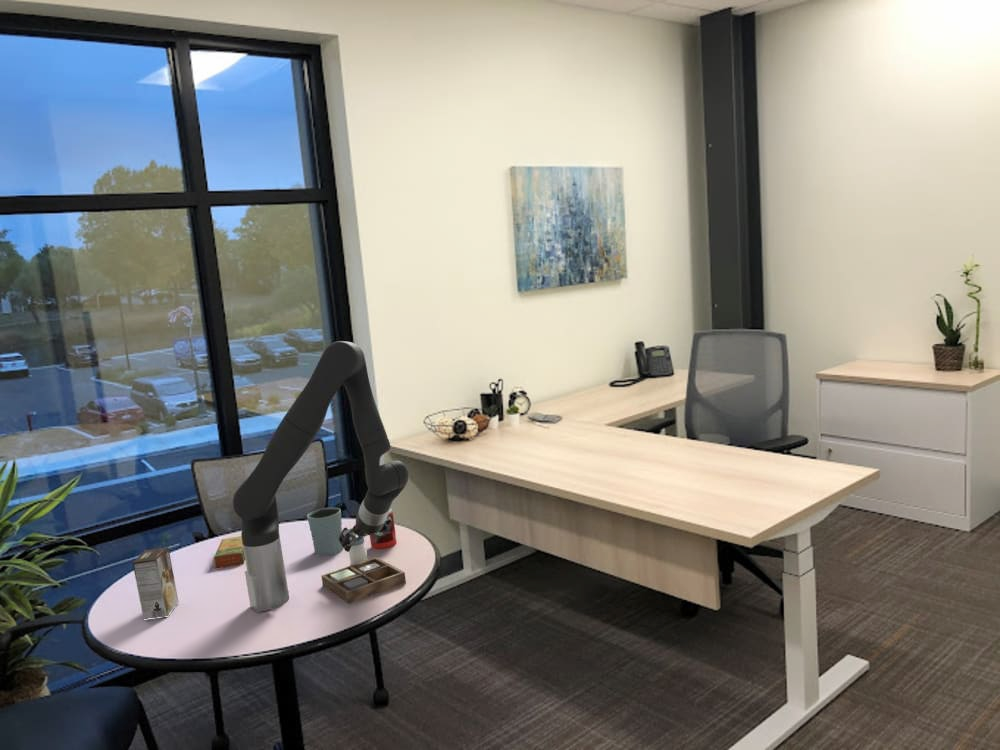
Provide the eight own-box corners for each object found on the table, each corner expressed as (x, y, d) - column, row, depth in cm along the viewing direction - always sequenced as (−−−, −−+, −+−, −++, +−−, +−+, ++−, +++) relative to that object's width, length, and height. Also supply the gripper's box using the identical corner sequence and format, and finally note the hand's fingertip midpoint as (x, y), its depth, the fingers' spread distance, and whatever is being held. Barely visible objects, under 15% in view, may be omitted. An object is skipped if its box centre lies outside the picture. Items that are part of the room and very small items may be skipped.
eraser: (351, 598, 204) (349, 587, 204) (344, 594, 208) (343, 583, 207) (369, 592, 207) (367, 581, 207) (362, 588, 211) (360, 577, 210)
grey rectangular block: (365, 580, 215) (364, 571, 215) (359, 577, 218) (358, 568, 218) (381, 574, 218) (380, 565, 218) (376, 571, 221) (374, 562, 221)
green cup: (319, 559, 237) (313, 520, 235) (307, 550, 246) (302, 513, 244) (351, 549, 242) (345, 511, 240) (339, 541, 251) (333, 504, 249)
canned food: (384, 539, 248) (379, 505, 246) (402, 543, 243) (397, 508, 241) (365, 548, 242) (360, 513, 240) (383, 552, 237) (378, 516, 235)
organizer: (349, 605, 202) (347, 592, 201) (323, 588, 215) (321, 575, 215) (406, 584, 211) (404, 572, 210) (378, 569, 224) (376, 557, 224)
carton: (250, 547, 256) (248, 534, 255) (244, 565, 240) (242, 551, 240) (223, 551, 255) (221, 538, 254) (215, 570, 239) (213, 556, 238)
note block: (339, 590, 210) (337, 579, 210) (331, 585, 215) (330, 574, 214) (356, 584, 213) (355, 573, 213) (348, 579, 217) (347, 569, 217)
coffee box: (155, 606, 215) (144, 549, 213) (179, 603, 216) (169, 546, 213) (142, 621, 206) (131, 562, 204) (168, 618, 207) (157, 558, 204)
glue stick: (356, 573, 223) (351, 540, 222) (348, 568, 227) (344, 536, 226) (371, 567, 226) (367, 535, 224) (364, 563, 230) (359, 531, 228)
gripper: (391, 494, 218) (377, 525, 229) (342, 508, 210) (331, 540, 221) (403, 517, 214) (388, 548, 225) (354, 532, 206) (342, 563, 218)
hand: (360, 544), depth 223 cm, fingers open, 8 cm apart
